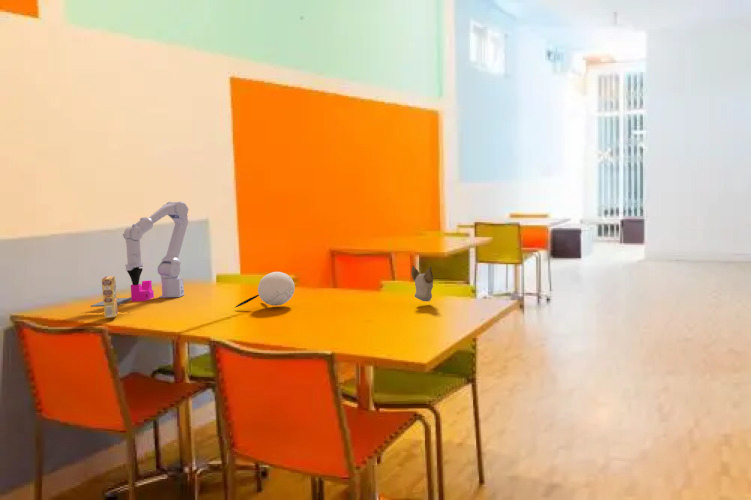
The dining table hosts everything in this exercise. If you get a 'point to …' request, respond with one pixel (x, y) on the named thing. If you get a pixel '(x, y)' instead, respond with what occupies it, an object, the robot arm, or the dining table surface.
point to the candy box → (109, 296)
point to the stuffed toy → (274, 289)
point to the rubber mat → (119, 301)
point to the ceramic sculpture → (423, 284)
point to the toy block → (142, 291)
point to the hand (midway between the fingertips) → (135, 285)
